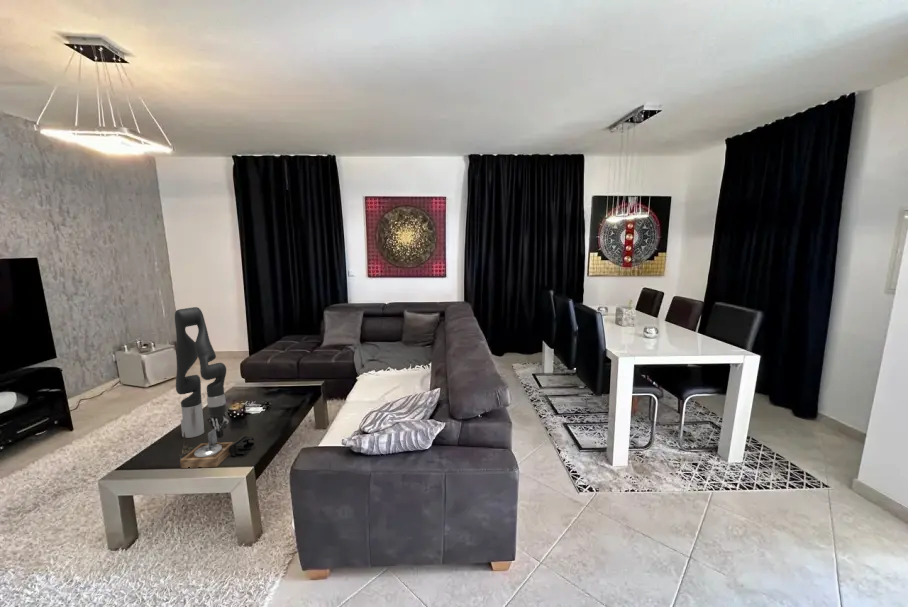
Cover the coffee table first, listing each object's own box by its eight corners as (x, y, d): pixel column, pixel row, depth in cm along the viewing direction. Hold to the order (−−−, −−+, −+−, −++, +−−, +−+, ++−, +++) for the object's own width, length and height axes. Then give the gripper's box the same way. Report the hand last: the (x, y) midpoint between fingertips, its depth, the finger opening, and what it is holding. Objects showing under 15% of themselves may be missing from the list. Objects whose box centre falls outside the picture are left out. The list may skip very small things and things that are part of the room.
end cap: (241, 447, 190) (240, 434, 190) (255, 447, 190) (254, 434, 189) (229, 457, 180) (228, 444, 180) (243, 457, 180) (242, 444, 179)
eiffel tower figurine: (184, 465, 175) (181, 438, 173) (164, 464, 175) (161, 437, 174) (207, 449, 189) (205, 424, 188) (189, 448, 190) (187, 423, 189)
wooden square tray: (180, 468, 171) (180, 459, 170) (201, 450, 187) (201, 442, 186) (216, 466, 172) (216, 458, 171) (234, 449, 188) (234, 441, 187)
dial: (215, 458, 174) (214, 440, 173) (189, 460, 173) (187, 442, 172) (227, 445, 187) (226, 428, 186) (203, 447, 185) (201, 430, 184)
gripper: (199, 405, 180) (203, 439, 182) (219, 407, 176) (223, 442, 178) (213, 399, 187) (217, 432, 189) (233, 402, 183) (236, 435, 185)
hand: (220, 437), depth 183 cm, fingers closed
